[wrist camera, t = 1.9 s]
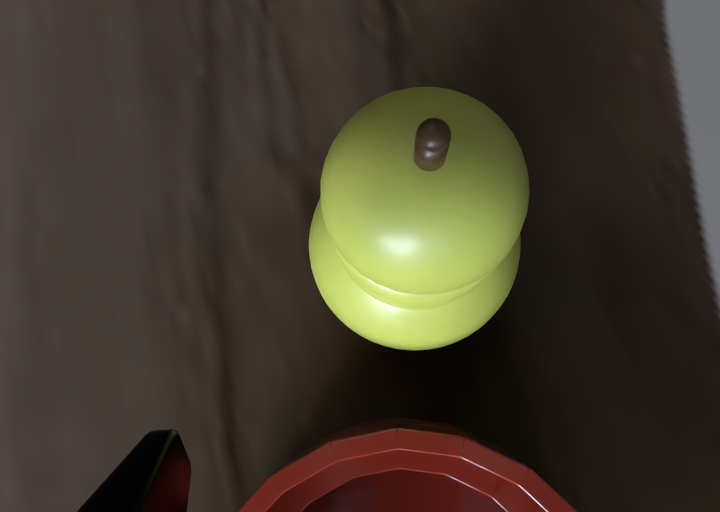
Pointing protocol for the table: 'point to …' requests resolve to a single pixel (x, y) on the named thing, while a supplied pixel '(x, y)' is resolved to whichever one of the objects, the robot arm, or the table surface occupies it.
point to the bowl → (404, 474)
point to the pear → (419, 218)
